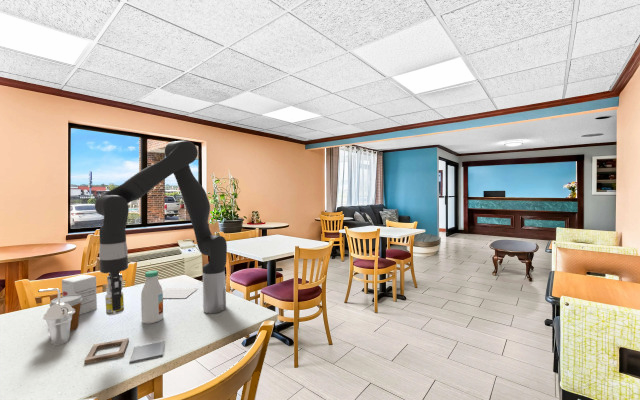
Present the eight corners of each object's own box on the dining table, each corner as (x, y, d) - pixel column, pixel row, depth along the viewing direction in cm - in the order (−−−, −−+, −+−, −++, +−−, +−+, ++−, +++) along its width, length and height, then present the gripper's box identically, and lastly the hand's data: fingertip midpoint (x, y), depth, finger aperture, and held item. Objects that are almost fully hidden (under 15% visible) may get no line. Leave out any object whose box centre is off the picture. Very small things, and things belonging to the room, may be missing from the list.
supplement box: (61, 313, 126) (60, 279, 125) (85, 305, 134) (84, 273, 134) (74, 316, 122) (73, 281, 122) (97, 308, 131) (96, 275, 130)
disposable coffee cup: (89, 325, 114) (88, 295, 114) (60, 337, 105) (59, 304, 105) (73, 322, 117) (72, 292, 117) (44, 333, 108) (43, 301, 108)
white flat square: (175, 307, 133) (175, 305, 133) (121, 307, 133) (121, 305, 133) (197, 289, 156) (197, 288, 156) (151, 289, 156) (151, 288, 156)
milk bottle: (153, 325, 115) (152, 275, 114) (137, 323, 116) (135, 273, 116) (167, 316, 122) (166, 269, 122) (151, 315, 124) (150, 268, 123)
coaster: (164, 342, 101) (164, 341, 101) (162, 356, 93) (162, 354, 93) (134, 348, 97) (134, 347, 97) (129, 363, 89) (129, 361, 89)
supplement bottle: (124, 308, 99) (123, 284, 98) (123, 313, 94) (122, 288, 94) (107, 311, 96) (106, 286, 96) (104, 317, 92) (103, 291, 92)
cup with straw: (73, 343, 101) (72, 287, 100) (38, 351, 96) (36, 292, 95) (78, 333, 108) (76, 280, 107) (45, 340, 103) (43, 284, 102)
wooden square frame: (128, 341, 102) (128, 338, 102) (123, 356, 93) (123, 352, 93) (93, 348, 98) (93, 344, 98) (84, 364, 89) (84, 360, 89)
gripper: (130, 258, 92) (132, 311, 92) (125, 250, 103) (127, 298, 103) (100, 262, 87) (102, 318, 88) (98, 254, 98) (100, 303, 99)
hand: (116, 306), depth 96 cm, fingers closed on supplement bottle, 4 cm apart
